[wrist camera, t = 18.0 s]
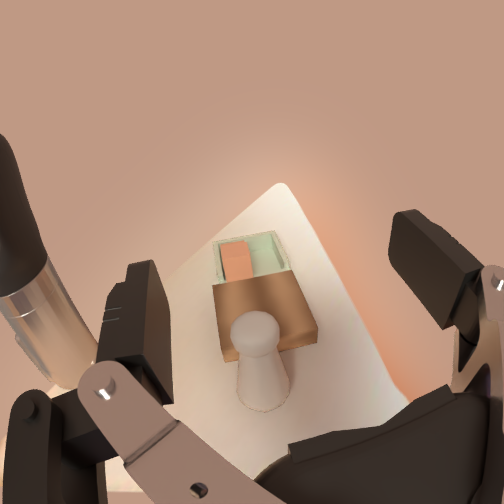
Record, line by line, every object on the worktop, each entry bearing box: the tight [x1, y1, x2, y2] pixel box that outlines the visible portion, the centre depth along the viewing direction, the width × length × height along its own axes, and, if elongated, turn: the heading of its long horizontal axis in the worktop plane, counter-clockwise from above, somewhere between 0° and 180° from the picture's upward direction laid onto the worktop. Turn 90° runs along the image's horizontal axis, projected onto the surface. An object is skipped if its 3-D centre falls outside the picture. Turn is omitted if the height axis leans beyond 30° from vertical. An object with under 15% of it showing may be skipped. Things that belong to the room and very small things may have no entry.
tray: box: [213, 230, 291, 284], centre depth 53 cm, size 11×10×4 cm
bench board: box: [212, 270, 318, 363], centre depth 43 cm, size 12×12×3 cm
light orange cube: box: [221, 242, 254, 282], centre depth 48 cm, size 4×4×4 cm
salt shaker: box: [230, 311, 290, 413], centre depth 30 cm, size 6×6×13 cm
